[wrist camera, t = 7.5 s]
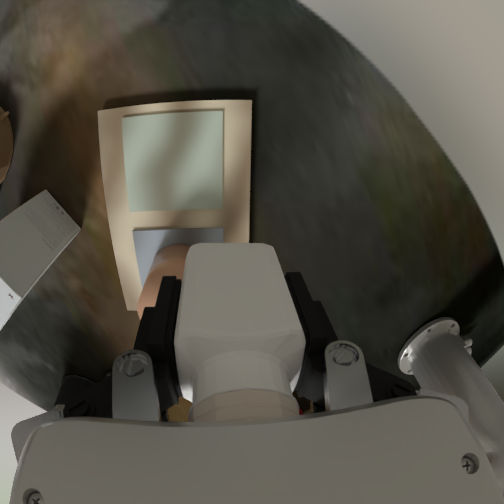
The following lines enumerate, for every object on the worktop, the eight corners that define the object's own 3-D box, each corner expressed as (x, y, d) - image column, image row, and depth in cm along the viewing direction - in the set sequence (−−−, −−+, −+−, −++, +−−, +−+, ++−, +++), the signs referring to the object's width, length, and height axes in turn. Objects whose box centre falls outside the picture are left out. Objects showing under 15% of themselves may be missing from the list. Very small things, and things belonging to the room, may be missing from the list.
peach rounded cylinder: (208, 243, 29) (205, 282, 23) (210, 293, 32) (209, 338, 26) (148, 244, 29) (131, 283, 23) (156, 294, 32) (144, 338, 26)
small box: (46, 187, 26) (-29, 240, 15) (82, 228, 29) (23, 299, 17) (15, 232, 28) (-48, 292, 16) (48, 268, 31) (-4, 339, 19)
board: (250, 100, 25) (252, 100, 24) (246, 302, 35) (247, 310, 34) (102, 110, 24) (96, 111, 22) (129, 304, 34) (126, 311, 32)
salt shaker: (267, 307, 16) (308, 482, 7) (190, 307, 15) (182, 490, 7) (275, 238, 14) (347, 428, 6) (187, 237, 13) (158, 440, 5)
